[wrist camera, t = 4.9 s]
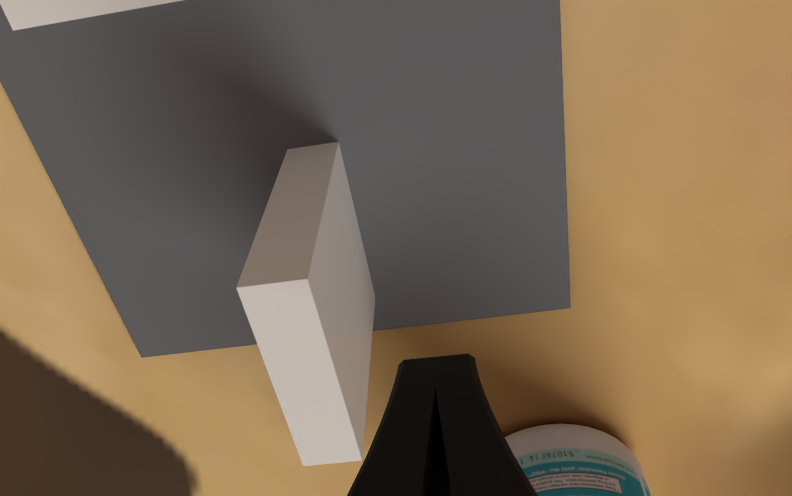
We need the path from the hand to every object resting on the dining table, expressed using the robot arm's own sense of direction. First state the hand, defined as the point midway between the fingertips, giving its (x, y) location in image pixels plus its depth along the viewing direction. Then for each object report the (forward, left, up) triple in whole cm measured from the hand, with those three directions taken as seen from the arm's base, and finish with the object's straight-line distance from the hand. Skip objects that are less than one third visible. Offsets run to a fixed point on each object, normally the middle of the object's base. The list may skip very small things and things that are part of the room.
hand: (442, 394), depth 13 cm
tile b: (+3, +2, -10) cm, 10 cm away
